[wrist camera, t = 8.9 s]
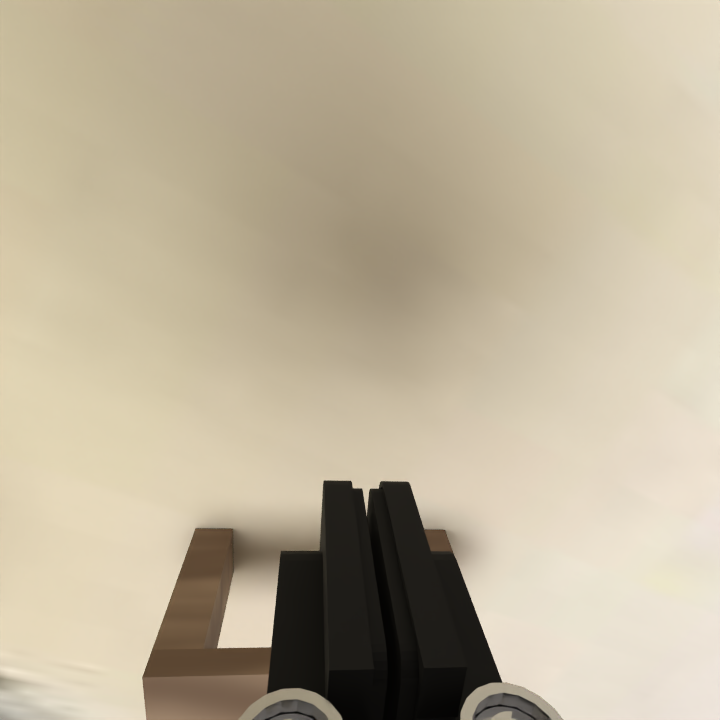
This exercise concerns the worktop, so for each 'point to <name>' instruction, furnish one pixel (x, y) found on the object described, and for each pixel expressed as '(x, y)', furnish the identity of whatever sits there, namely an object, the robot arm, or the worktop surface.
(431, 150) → the worktop surface
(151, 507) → the worktop surface
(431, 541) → the bridge
